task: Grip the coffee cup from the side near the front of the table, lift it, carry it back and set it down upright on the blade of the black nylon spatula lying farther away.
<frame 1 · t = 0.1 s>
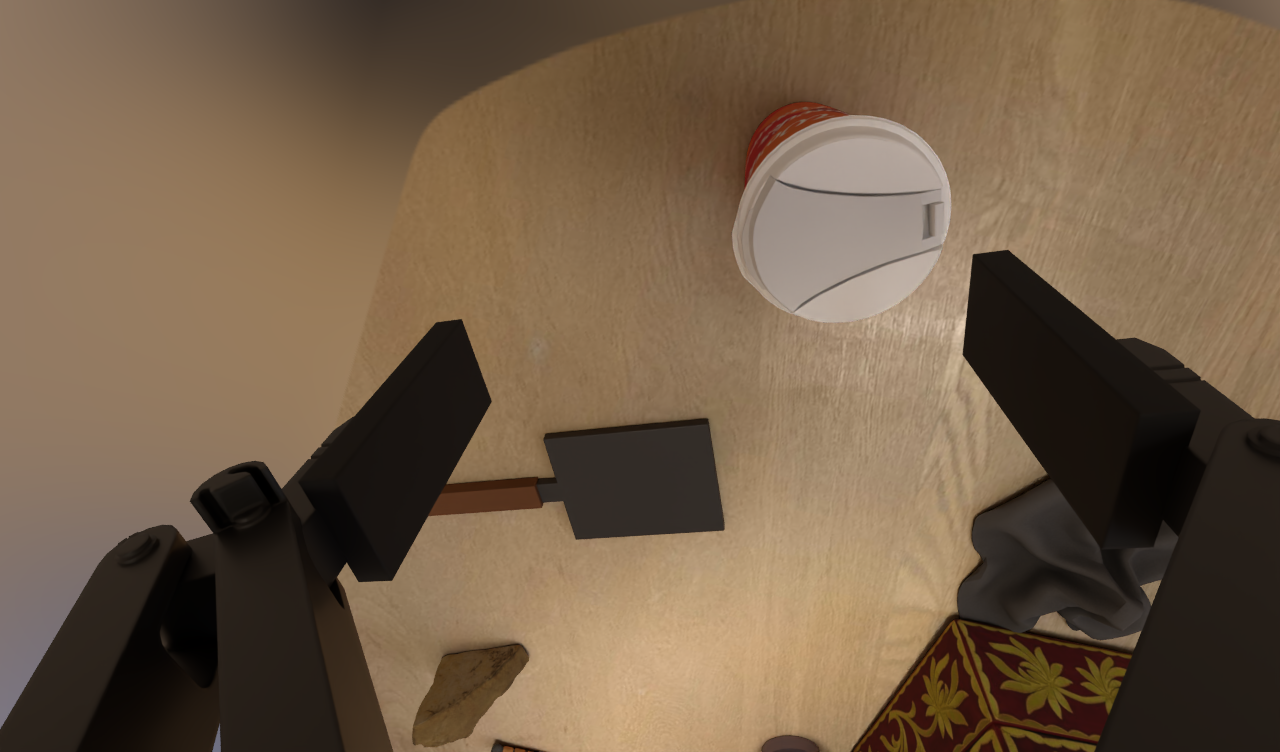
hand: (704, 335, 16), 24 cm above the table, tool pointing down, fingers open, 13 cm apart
cloth: (1066, 566, 50), on the table, touching decorative box
coffee cup: (796, 156, 36), on the table
decorative box: (979, 715, 61), on the table, touching cloth
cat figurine: (791, 750, 68), on the table
rock: (486, 657, 65), on the table
spatula: (637, 480, 50), on the table
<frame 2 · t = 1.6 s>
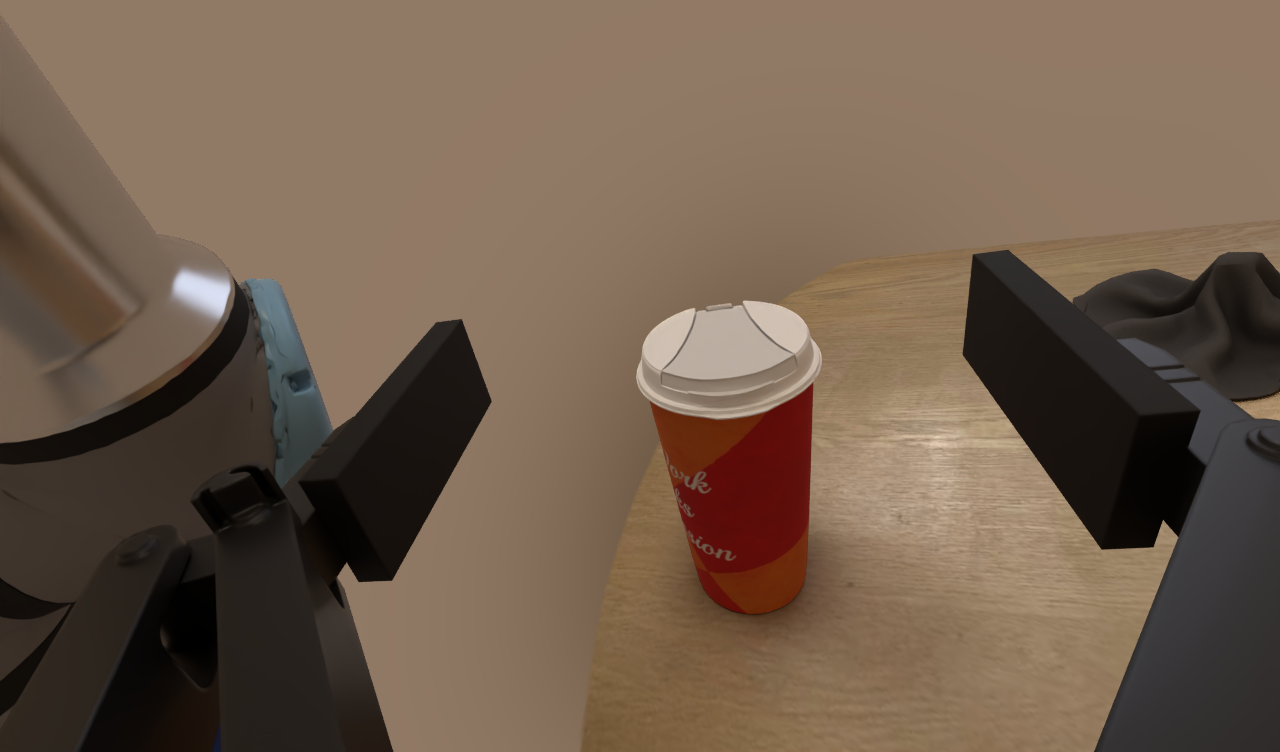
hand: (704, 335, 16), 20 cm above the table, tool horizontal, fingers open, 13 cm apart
cloth: (1242, 337, 44), on the table, touching decorative box
coffee cup: (751, 572, 34), on the table
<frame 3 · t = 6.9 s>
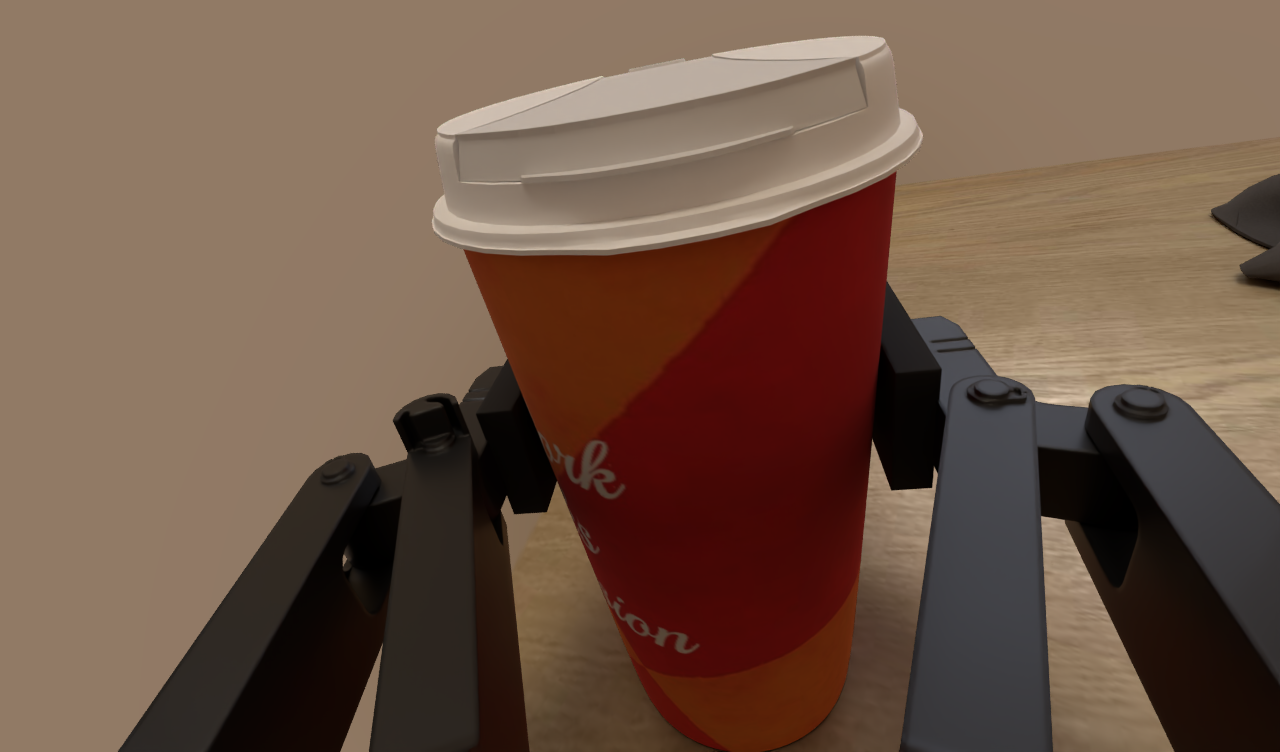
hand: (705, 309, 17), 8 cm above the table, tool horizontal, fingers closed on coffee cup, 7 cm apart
coffee cup: (740, 652, 17), on the table, touching gripper
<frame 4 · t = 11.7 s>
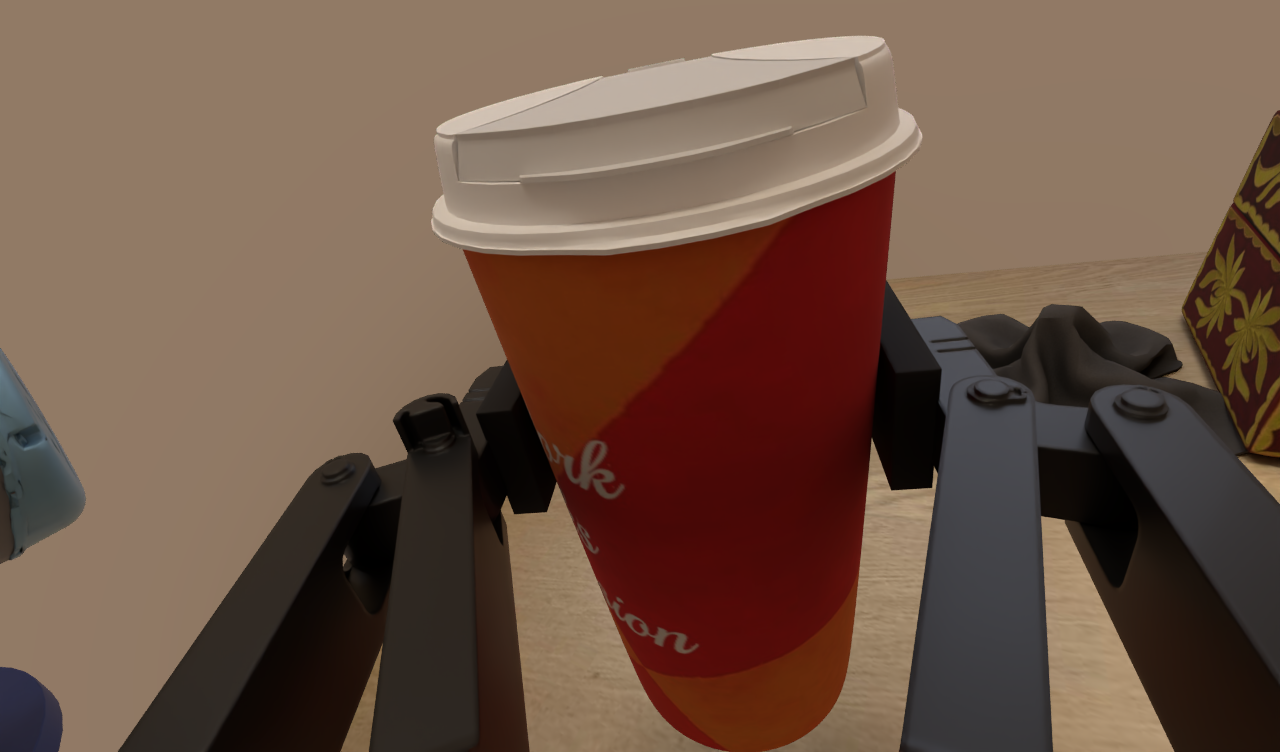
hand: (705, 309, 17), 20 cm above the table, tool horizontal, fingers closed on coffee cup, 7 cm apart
cloth: (1071, 390, 43), on the table, touching decorative box
coffee cup: (740, 652, 17), point 12 cm above the table, touching gripper
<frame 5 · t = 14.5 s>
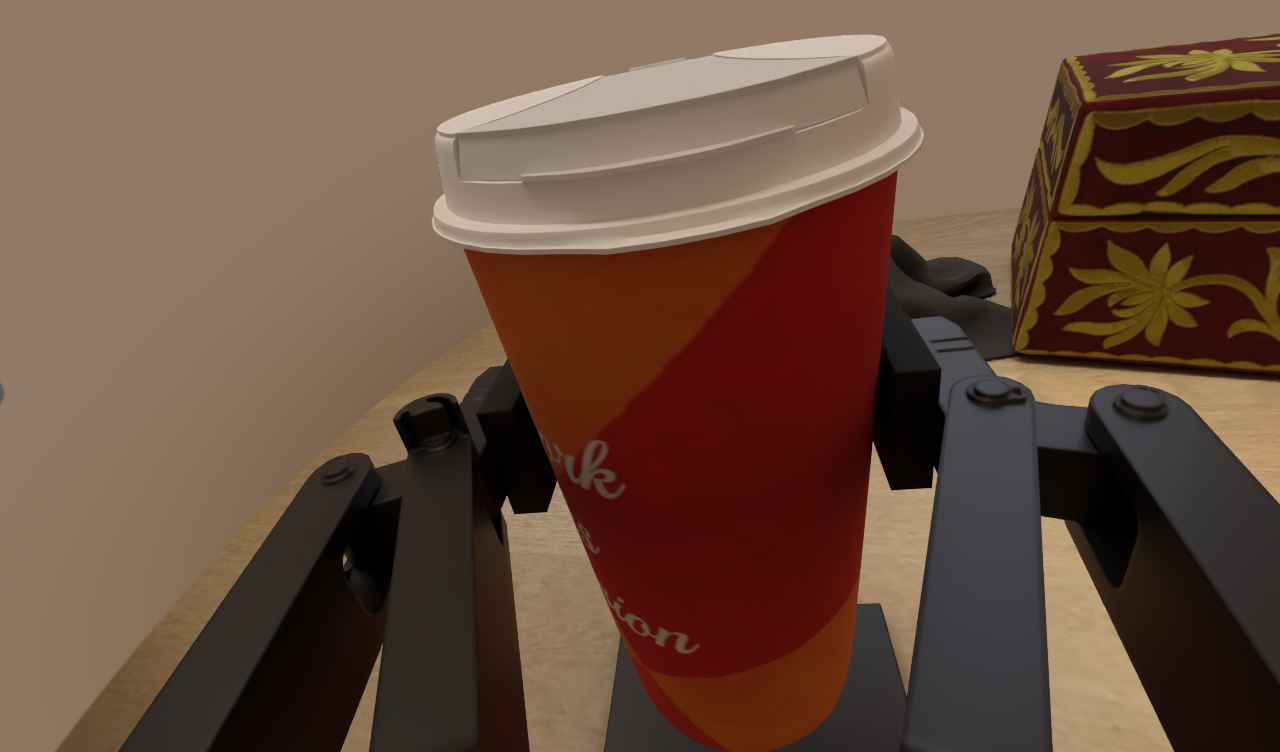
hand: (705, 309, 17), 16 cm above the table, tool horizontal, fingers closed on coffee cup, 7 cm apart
cloth: (897, 314, 48), on the table, touching decorative box
coffee cup: (741, 653, 17), point 7 cm above the table, touching gripper
decorative box: (1254, 307, 40), on the table, touching cloth
when the fingers open (9 cm above the table, at t = 16.7 s): coffee cup stays where it is, resting on spatula.
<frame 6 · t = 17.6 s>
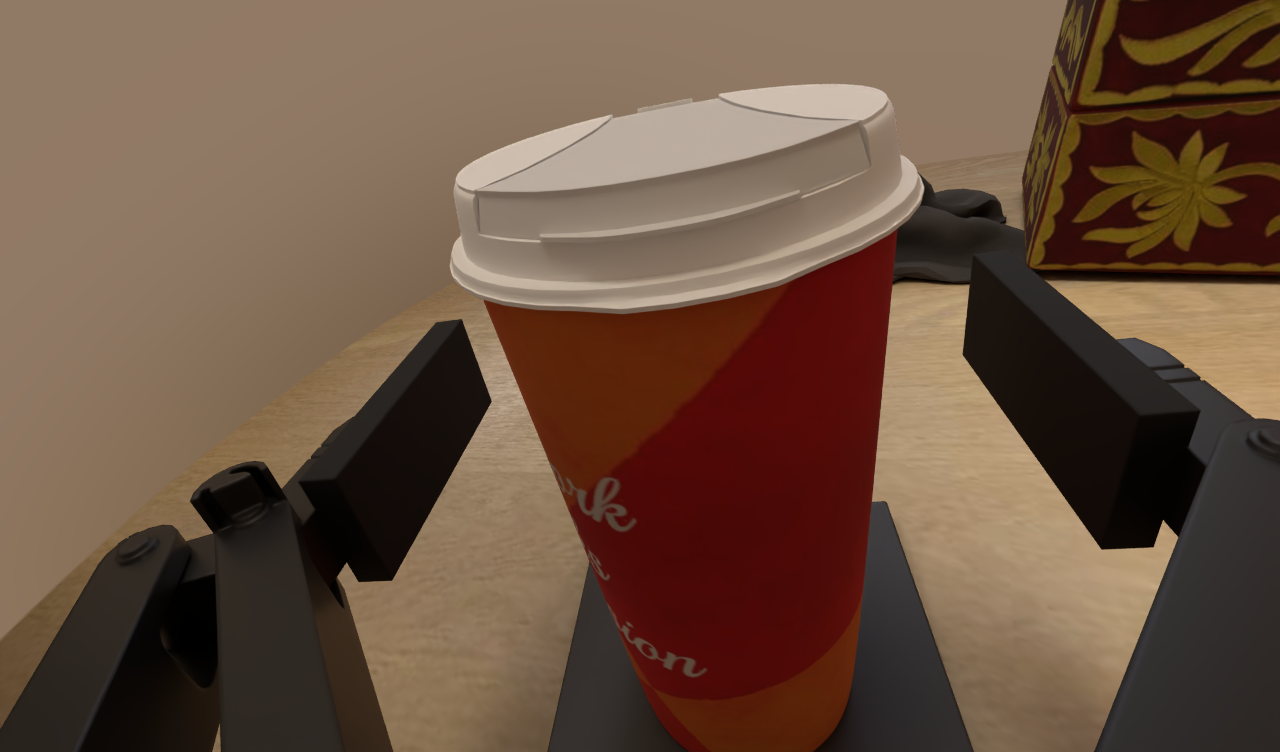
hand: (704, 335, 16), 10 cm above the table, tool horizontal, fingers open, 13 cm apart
cloth: (901, 245, 45), on the table, touching decorative box
coffee cup: (745, 670, 18), point 1 cm above the table, touching spatula
spatula: (746, 681, 18), on the table
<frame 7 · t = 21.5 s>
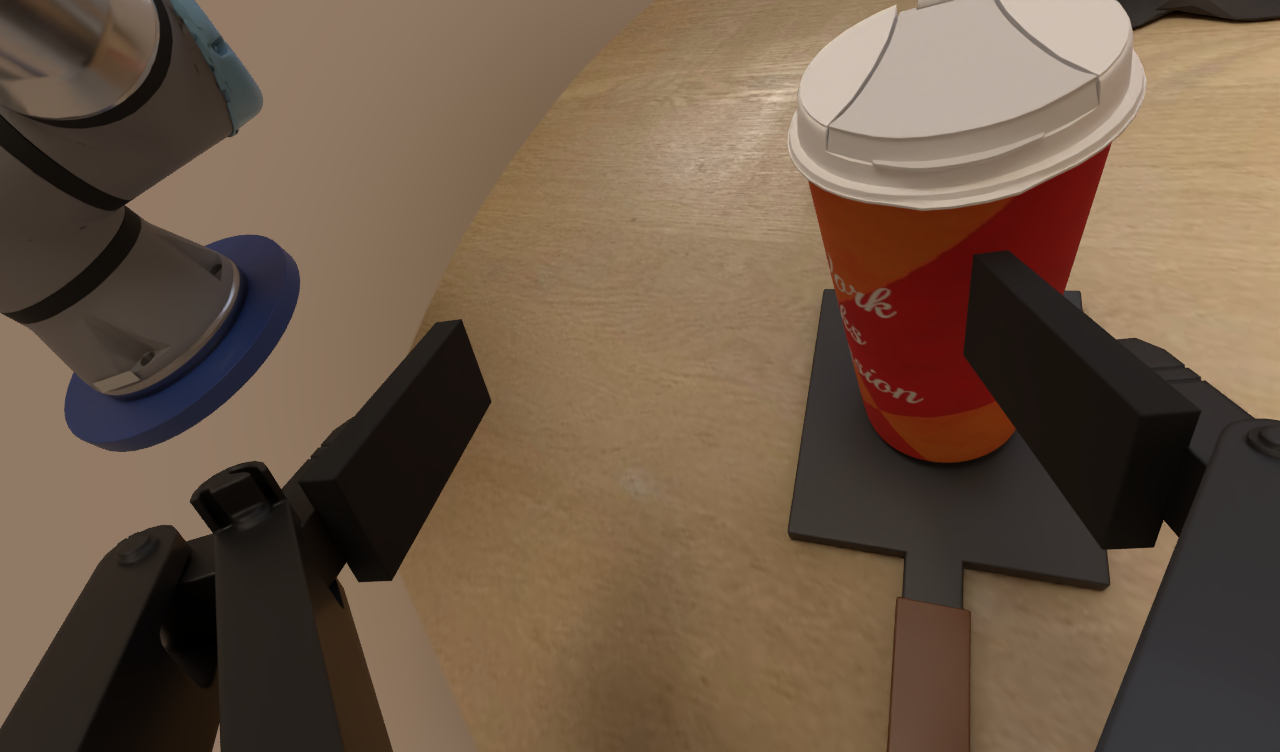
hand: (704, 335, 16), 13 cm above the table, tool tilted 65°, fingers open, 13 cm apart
coffee cup: (940, 406, 26), point 1 cm above the table, touching gripper, spatula
spatula: (937, 416, 27), on the table
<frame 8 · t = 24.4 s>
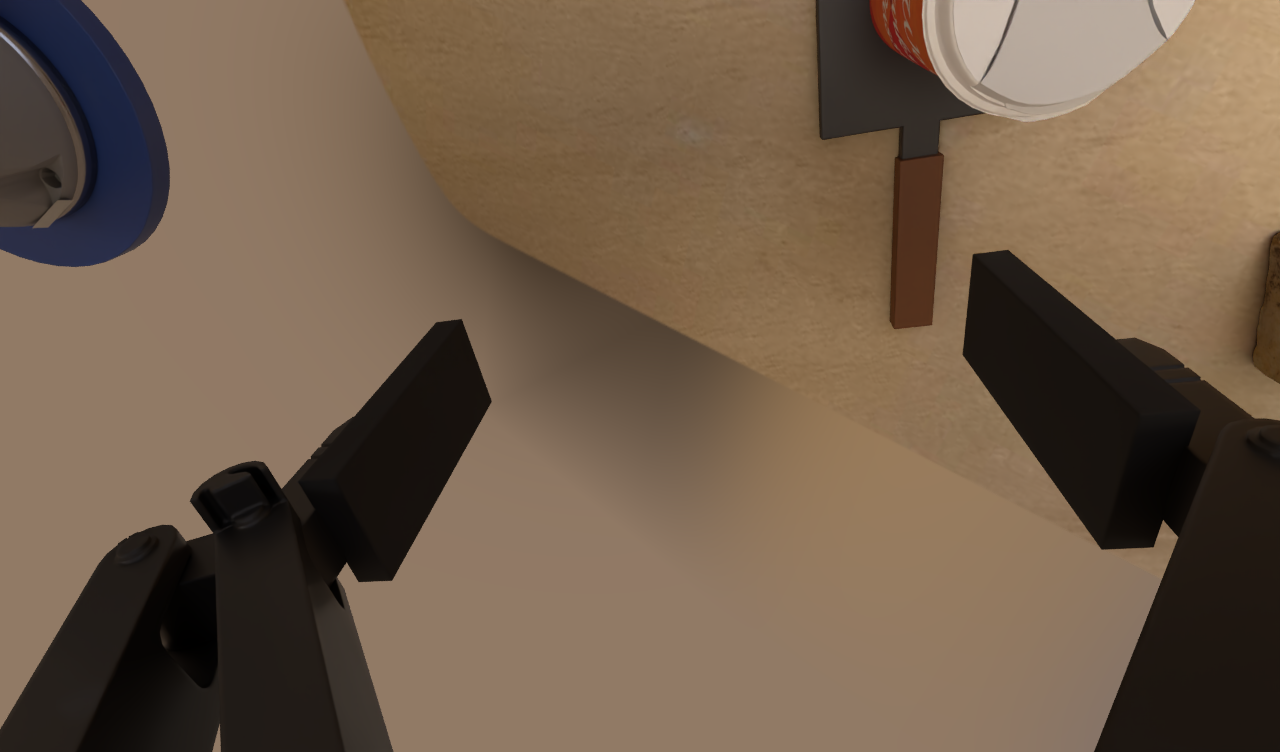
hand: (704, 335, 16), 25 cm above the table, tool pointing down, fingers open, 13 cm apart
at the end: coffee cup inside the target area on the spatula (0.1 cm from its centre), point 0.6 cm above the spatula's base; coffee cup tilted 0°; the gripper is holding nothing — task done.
